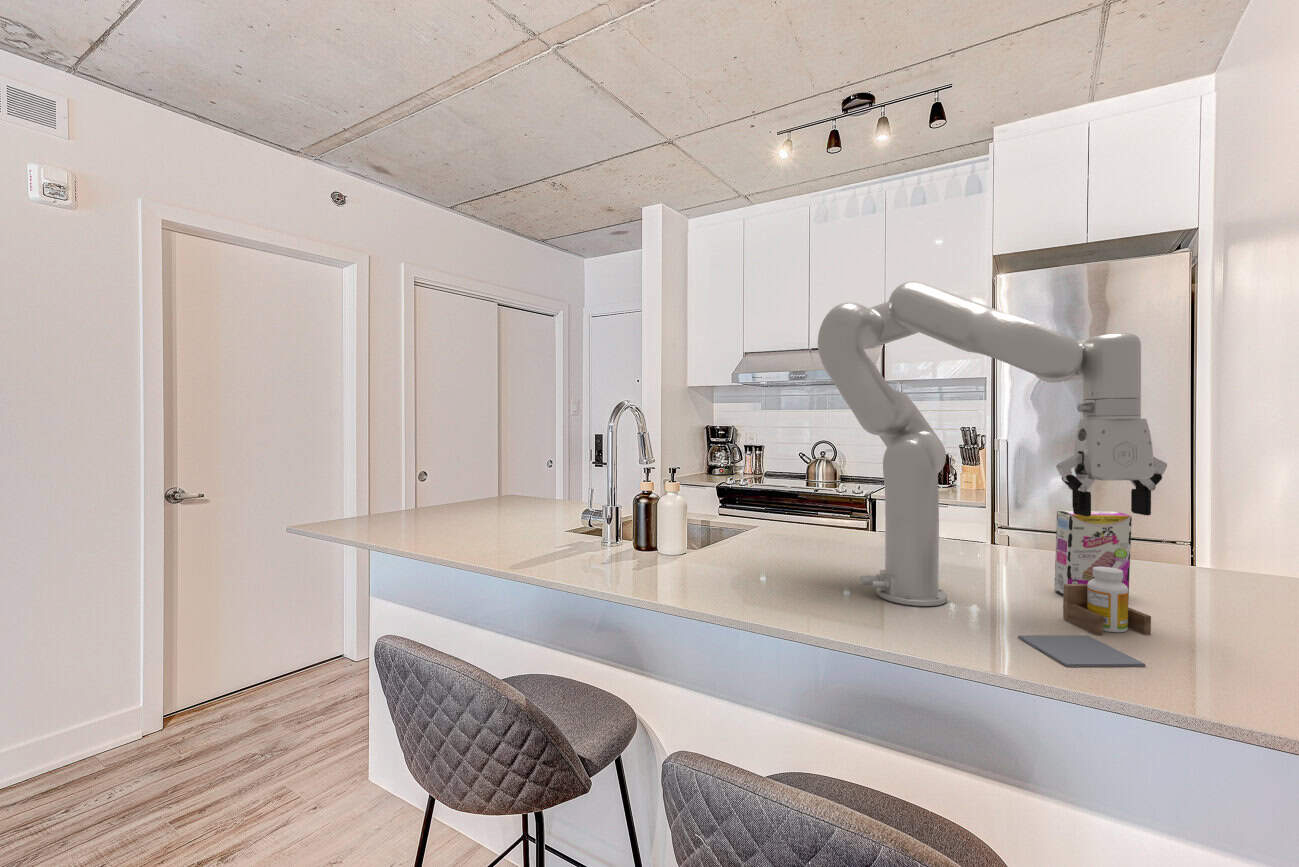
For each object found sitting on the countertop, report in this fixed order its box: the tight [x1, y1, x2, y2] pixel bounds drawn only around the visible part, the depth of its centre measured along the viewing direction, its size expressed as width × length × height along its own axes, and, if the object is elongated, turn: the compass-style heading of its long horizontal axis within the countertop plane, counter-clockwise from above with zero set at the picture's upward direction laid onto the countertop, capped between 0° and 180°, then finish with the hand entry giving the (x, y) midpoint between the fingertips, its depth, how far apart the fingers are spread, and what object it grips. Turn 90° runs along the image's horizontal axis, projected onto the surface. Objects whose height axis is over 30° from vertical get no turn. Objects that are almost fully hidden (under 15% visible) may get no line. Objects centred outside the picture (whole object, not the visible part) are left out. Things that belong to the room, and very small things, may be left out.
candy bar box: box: [1054, 509, 1133, 599], centre depth 116 cm, size 11×5×16 cm, turn 84°
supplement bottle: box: [1087, 567, 1129, 633], centre depth 99 cm, size 5×5×10 cm
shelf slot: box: [1062, 584, 1152, 636], centre depth 99 cm, size 9×8×6 cm
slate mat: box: [1017, 634, 1146, 668], centre depth 89 cm, size 11×11×1 cm
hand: (1111, 514), depth 98 cm, fingers open, 9 cm apart
